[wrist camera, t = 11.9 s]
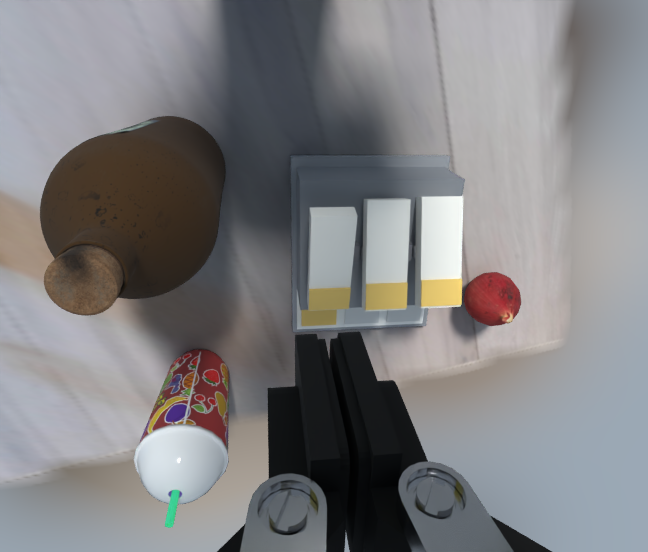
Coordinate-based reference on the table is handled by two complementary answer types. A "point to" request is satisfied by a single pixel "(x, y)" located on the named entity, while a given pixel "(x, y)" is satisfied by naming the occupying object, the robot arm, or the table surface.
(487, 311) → the onion
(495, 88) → the table surface
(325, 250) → the rocker
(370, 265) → the rocker
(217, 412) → the smoothie
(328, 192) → the switch unit
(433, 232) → the rocker
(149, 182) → the olive oil
